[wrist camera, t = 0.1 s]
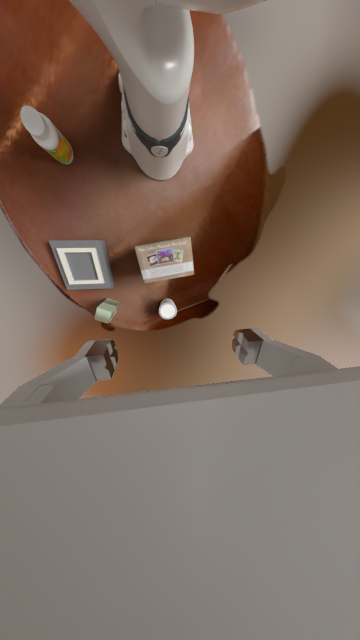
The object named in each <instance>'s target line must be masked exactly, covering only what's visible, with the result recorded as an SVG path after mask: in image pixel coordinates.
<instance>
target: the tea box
mask: <svg viewBox="0 0 360 640" xmlns="http://www.w3.org/2000/svg"><path fill="white" fill-rule="evenodd" d="M134 248H135V251H136V255H137V259H138V262H139V266H140V270H141V273H142V277H143V280H144V283H150V282H156V281H161V280H167V279H172V278H178V277H183V276H189V275H194V268H193V258H192V247H191V237H185V238H177V239H172V240H165V241H160V242H154V243H149V244H144V245H139V246H135V247H134Z"/></svg>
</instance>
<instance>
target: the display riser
mask: <svg viewBox="0 0 360 640" xmlns="http://www.w3.org/2000/svg"><path fill="white" fill-rule="evenodd" d="M49 243H50V246H51V248H52V251H53V253H54V256H55V259H56V261H57V264H58V267H59V269H60V272H61V275H62V277H63V280H64V283H65V285H66V288H67V290H78V289H105V288H113V287H114V282H113V278H112V273H111V268H110V264H109V259H108V255H107V250H106V246H105V241H102V240H73V241H49Z"/></svg>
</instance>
